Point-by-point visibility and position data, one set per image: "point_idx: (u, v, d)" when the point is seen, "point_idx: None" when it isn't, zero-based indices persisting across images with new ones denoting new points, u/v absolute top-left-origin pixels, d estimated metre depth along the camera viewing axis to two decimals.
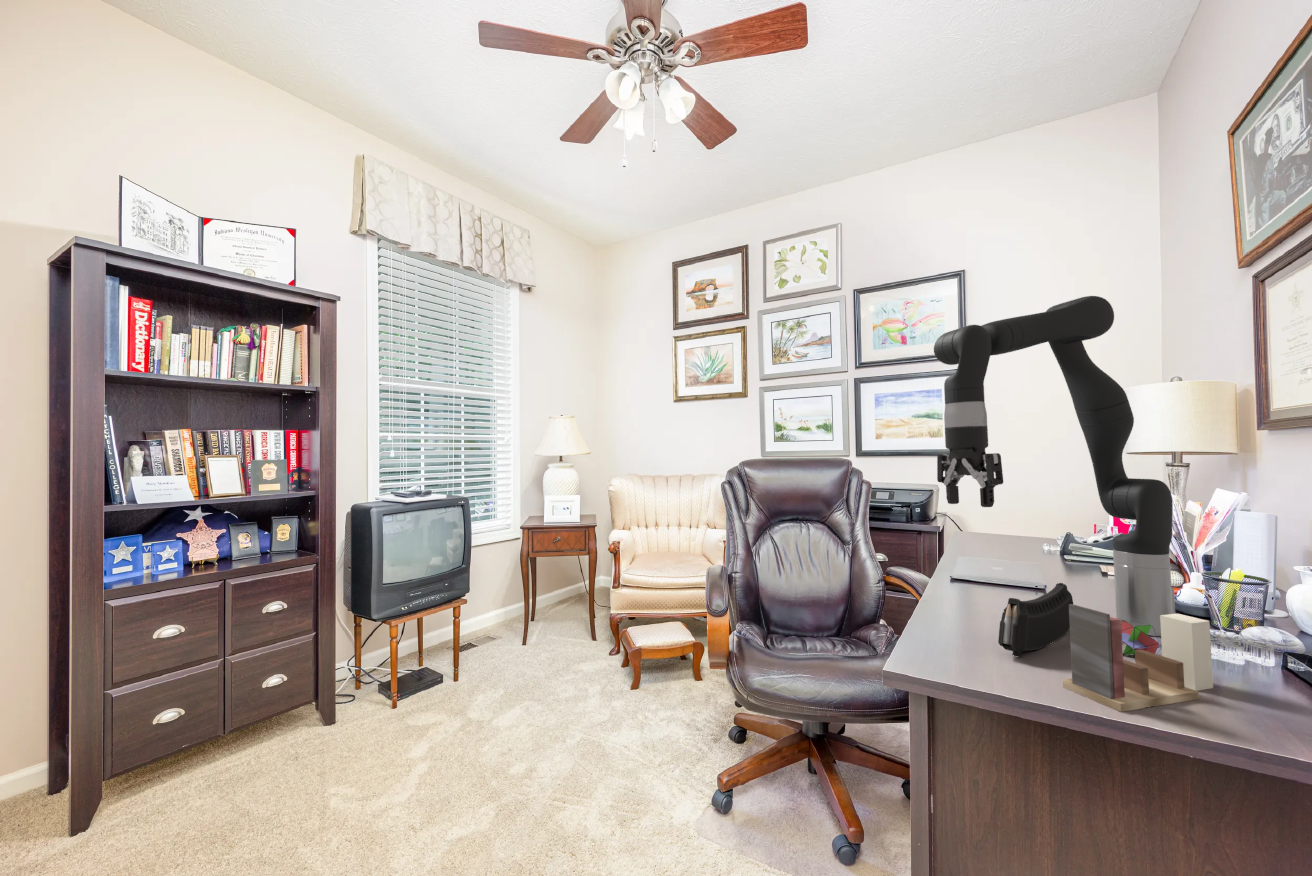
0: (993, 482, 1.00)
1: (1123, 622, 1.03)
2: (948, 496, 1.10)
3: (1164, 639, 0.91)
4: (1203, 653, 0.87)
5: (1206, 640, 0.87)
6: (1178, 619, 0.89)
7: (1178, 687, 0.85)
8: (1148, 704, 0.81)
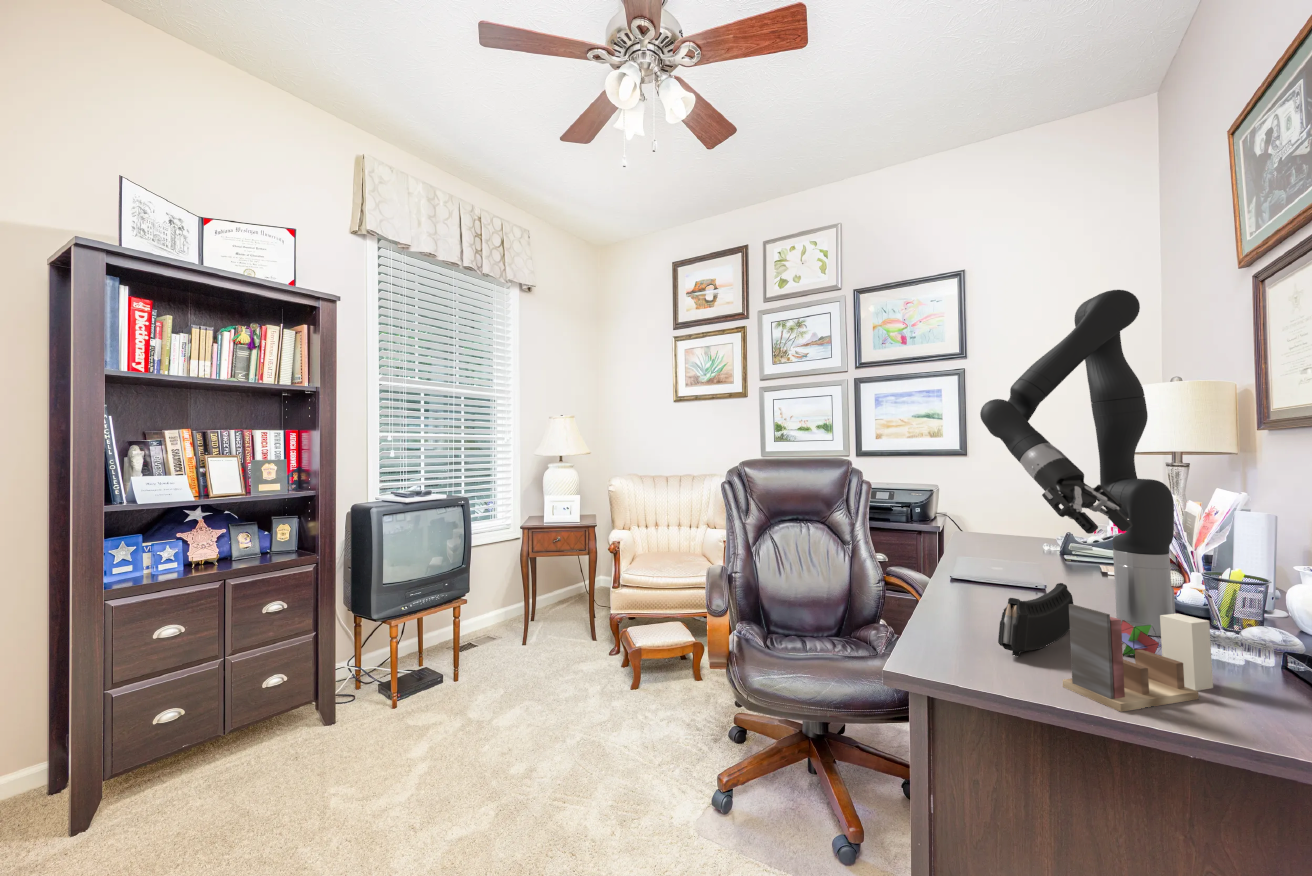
0: (1060, 514, 1.03)
1: (1123, 622, 1.03)
2: None
3: (1164, 639, 0.91)
4: (1203, 653, 0.87)
5: (1206, 640, 0.87)
6: (1178, 619, 0.89)
7: (1178, 687, 0.85)
8: (1148, 704, 0.81)
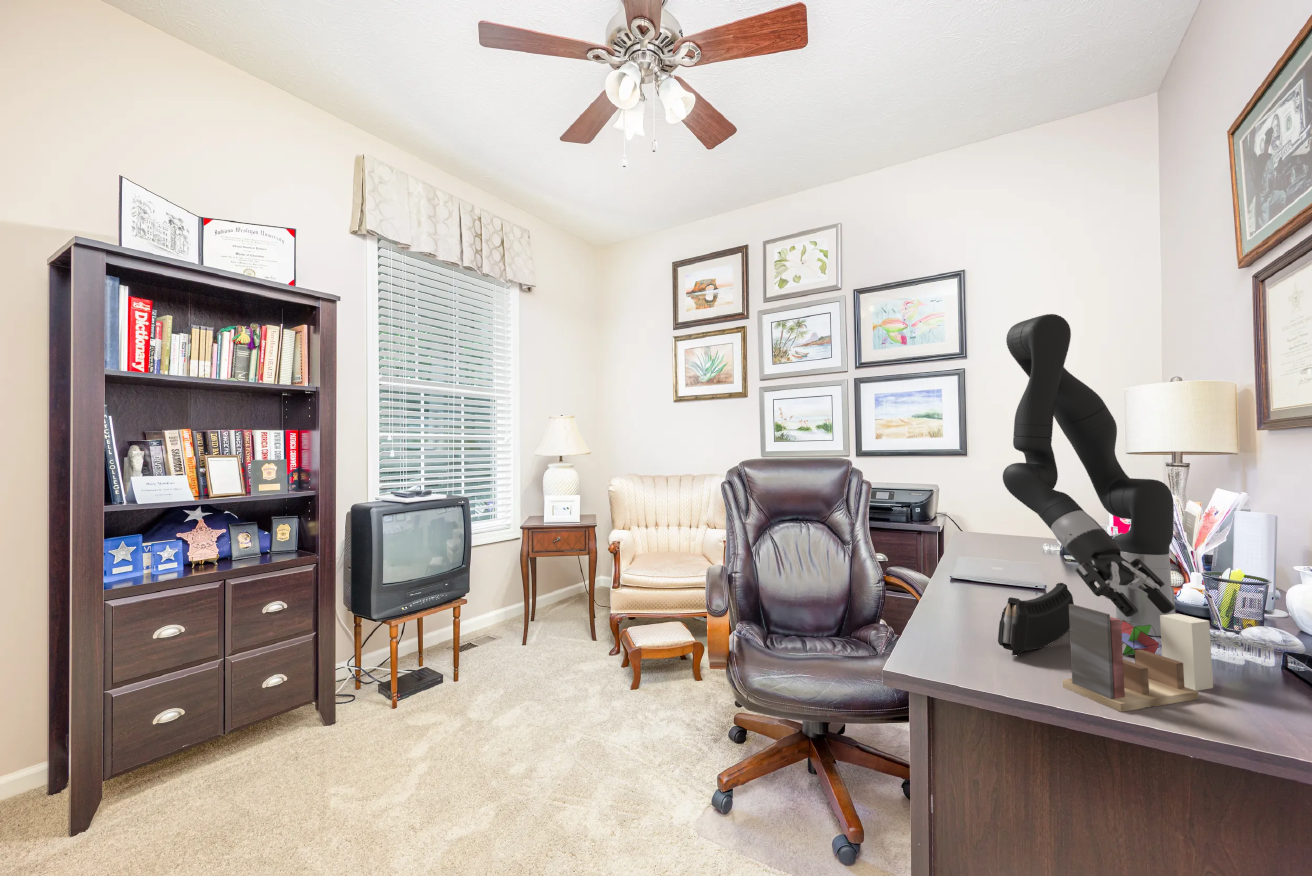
0: (1095, 593, 0.97)
1: (1123, 622, 1.03)
2: None
3: (1164, 639, 0.91)
4: (1203, 653, 0.87)
5: (1206, 640, 0.87)
6: (1178, 619, 0.89)
7: (1178, 687, 0.85)
8: (1148, 704, 0.81)
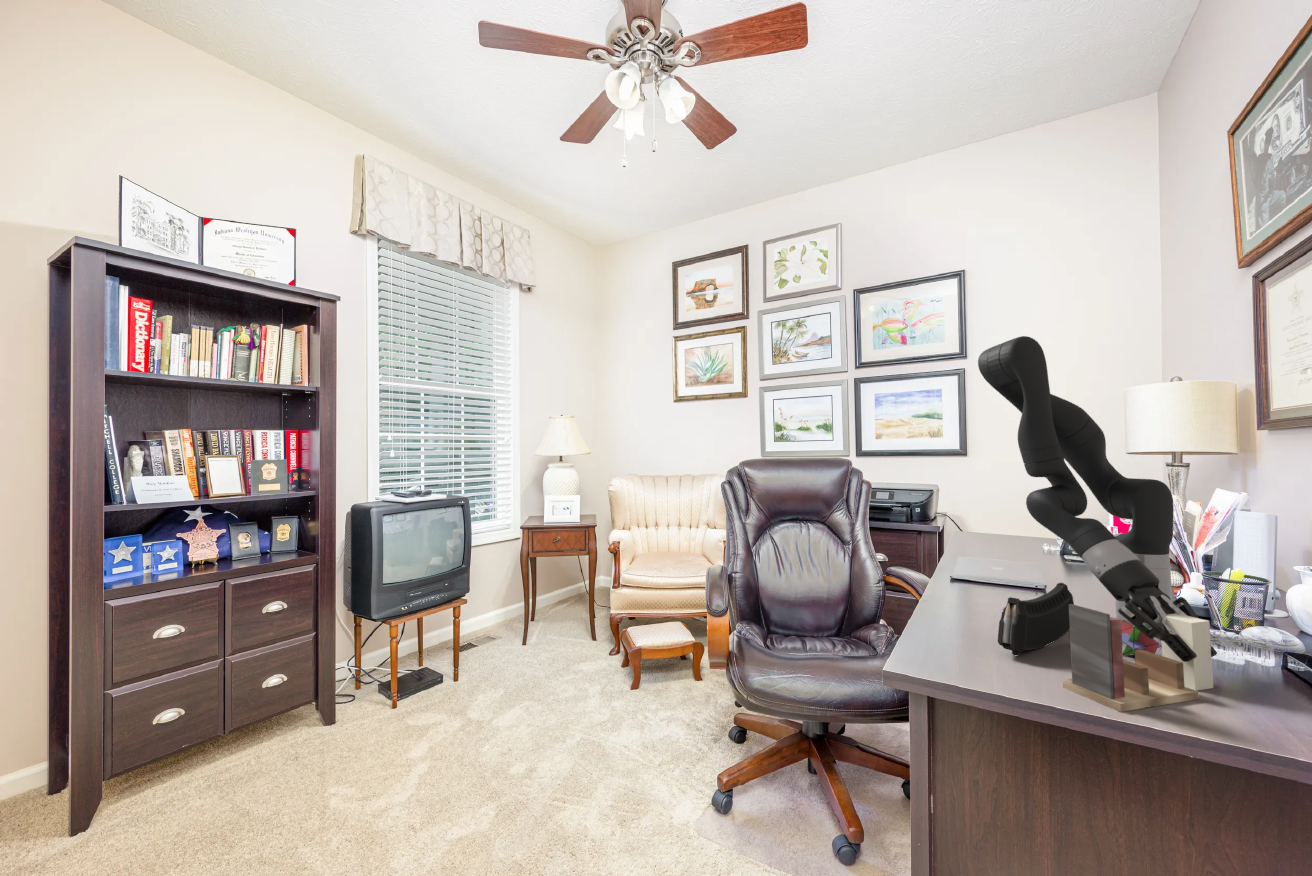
0: (1148, 635, 0.90)
1: (1123, 622, 1.03)
2: None
3: None
4: (1203, 653, 0.87)
5: (1206, 640, 0.87)
6: (1178, 619, 0.89)
7: (1178, 687, 0.85)
8: (1148, 704, 0.81)
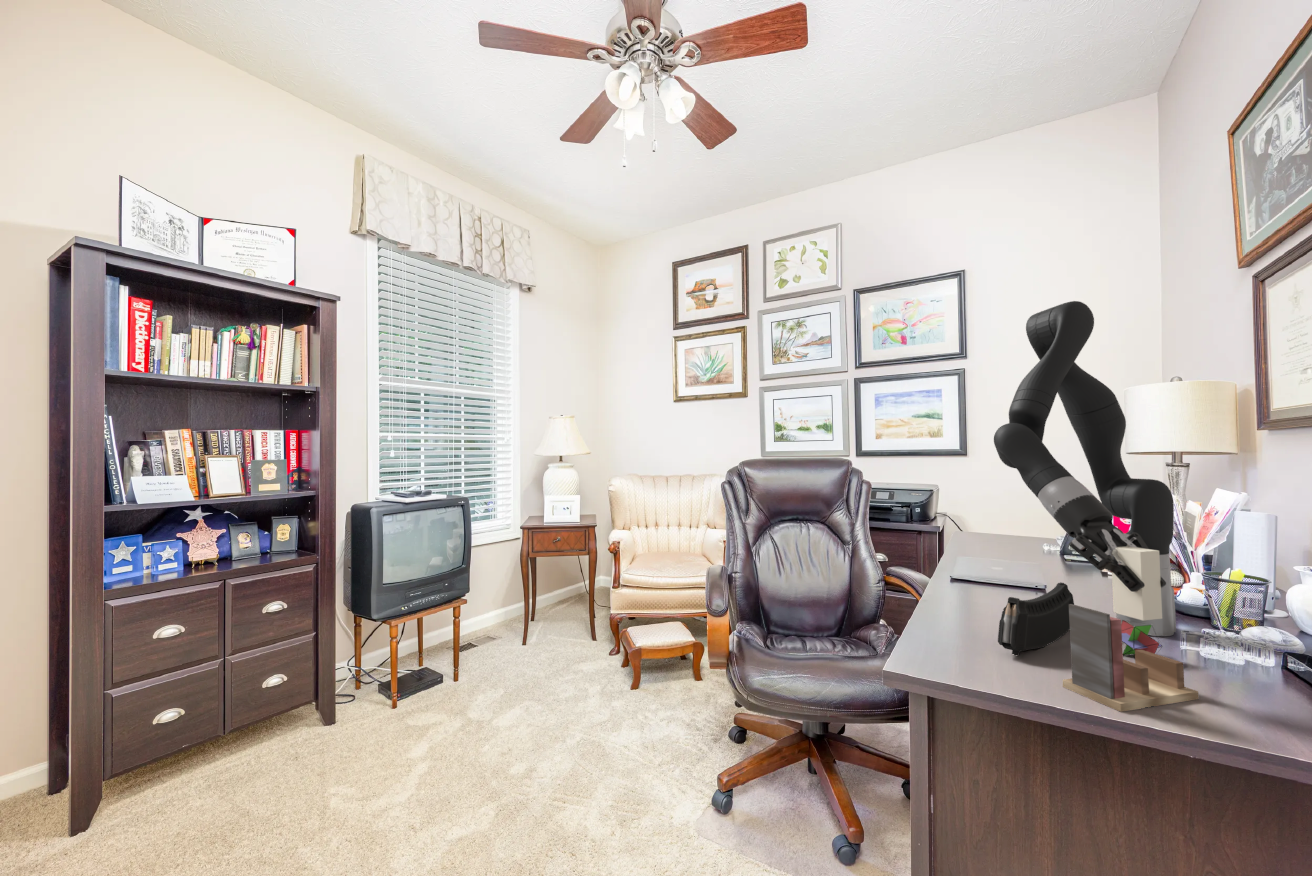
0: (1098, 567, 0.89)
1: (1123, 622, 1.03)
2: None
3: None
4: (1152, 583, 0.86)
5: (1155, 570, 0.86)
6: (1128, 549, 0.87)
7: (1178, 687, 0.85)
8: (1148, 704, 0.81)
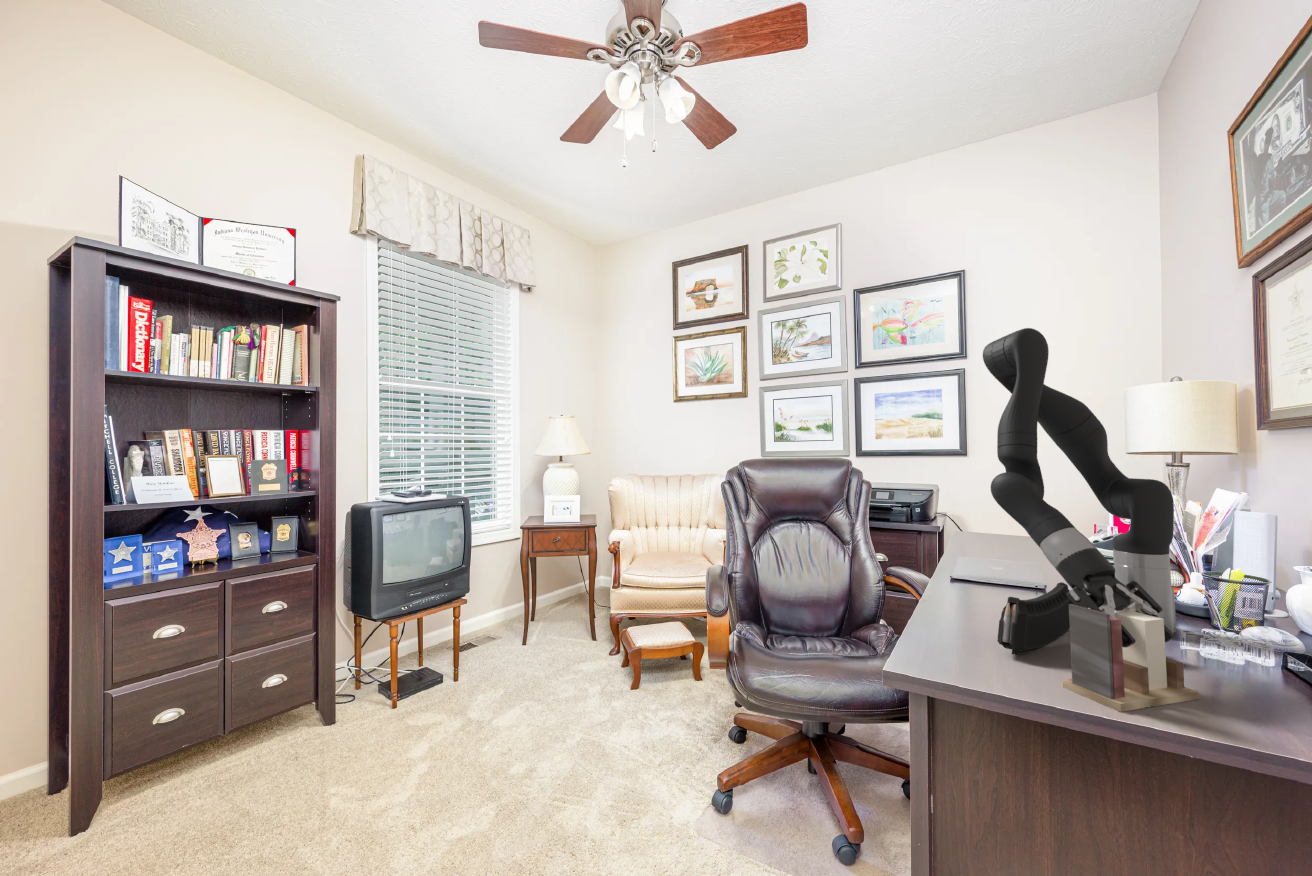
0: None
1: None
2: None
3: None
4: (1157, 652, 0.85)
5: (1160, 638, 0.85)
6: (1132, 617, 0.87)
7: (1178, 687, 0.85)
8: (1148, 704, 0.81)
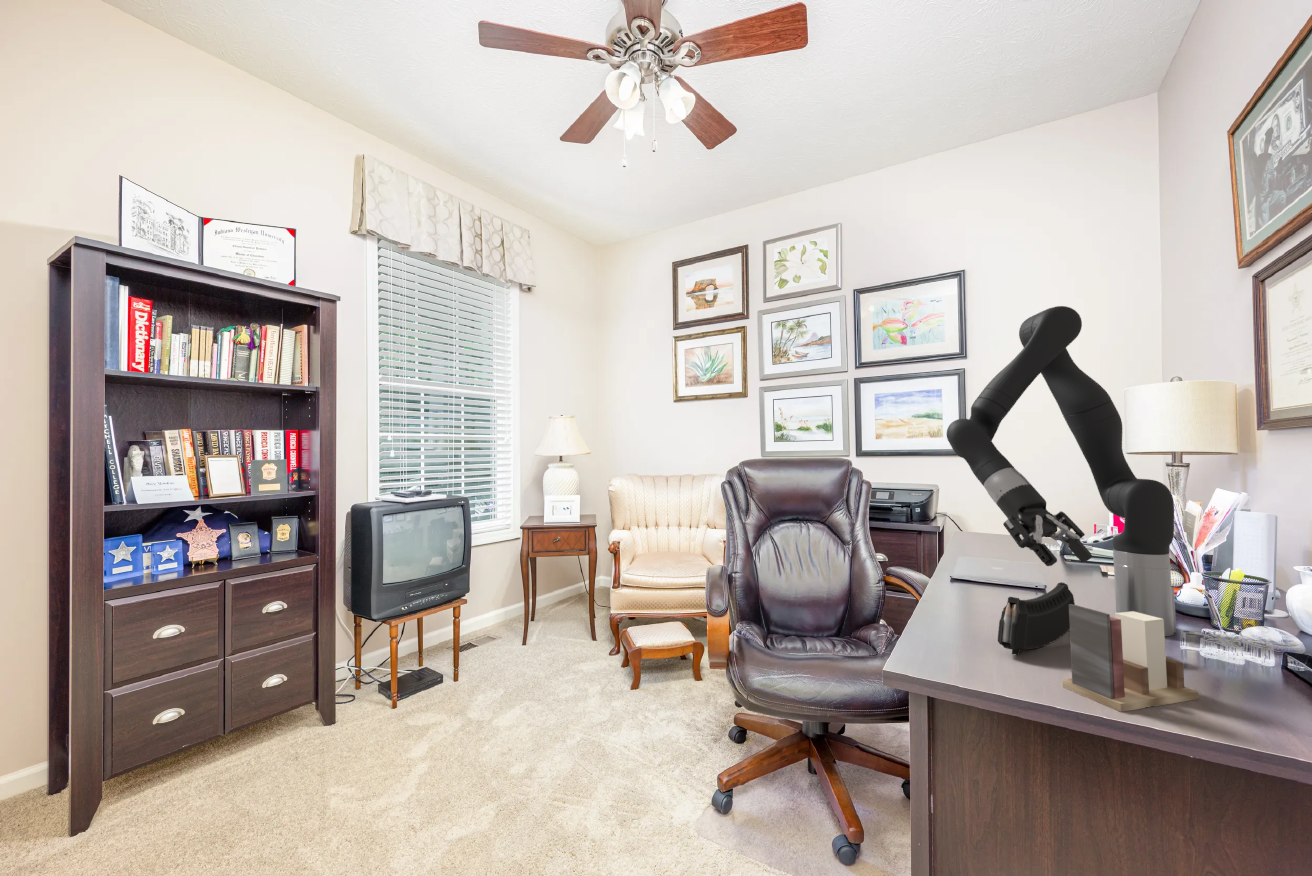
0: (1020, 545, 1.01)
1: None
2: None
3: None
4: (1157, 652, 0.85)
5: (1160, 638, 0.85)
6: (1132, 617, 0.87)
7: (1178, 687, 0.85)
8: (1148, 704, 0.81)
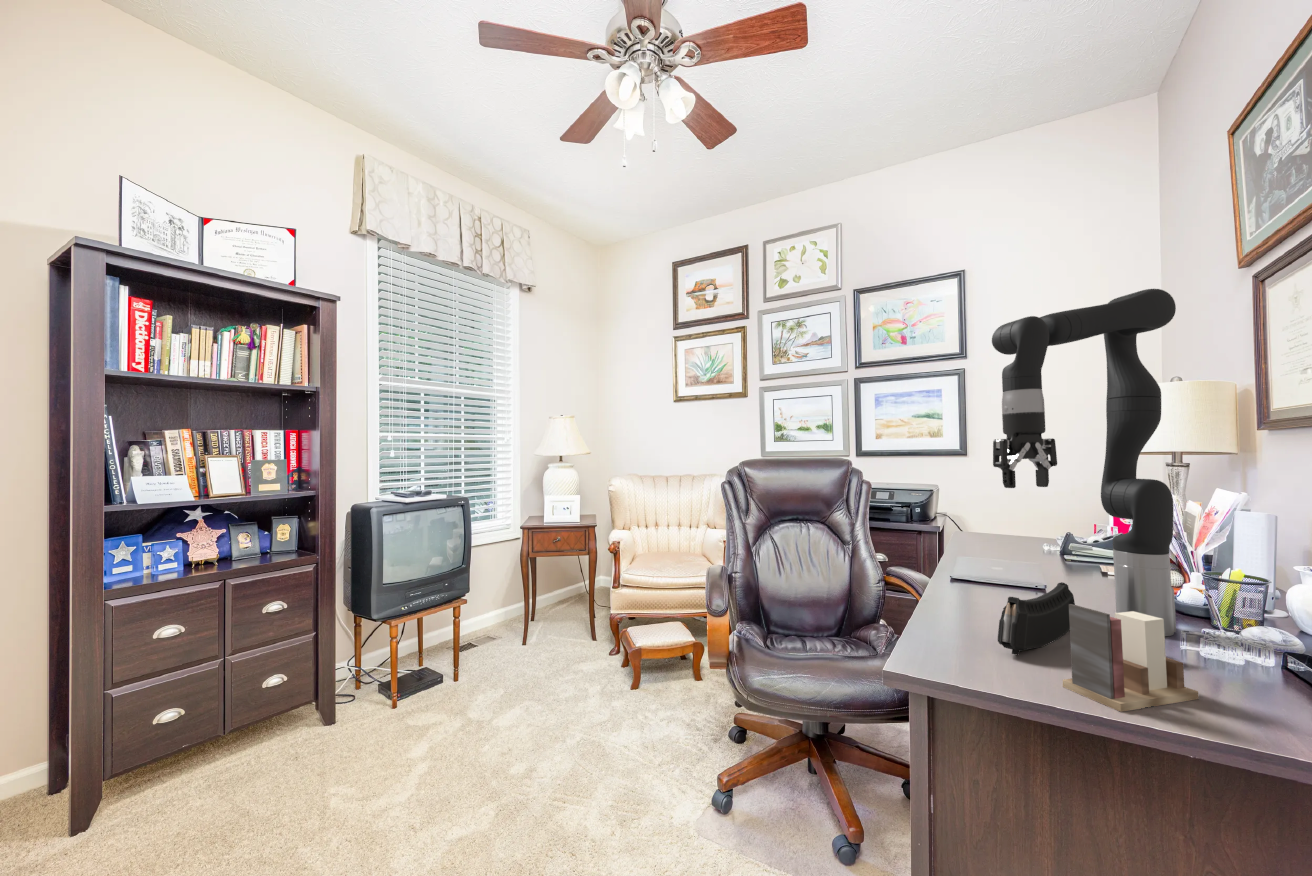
0: (994, 465, 1.12)
1: None
2: None
3: None
4: (1157, 652, 0.85)
5: (1160, 638, 0.85)
6: (1132, 617, 0.87)
7: (1178, 687, 0.85)
8: (1148, 704, 0.81)
